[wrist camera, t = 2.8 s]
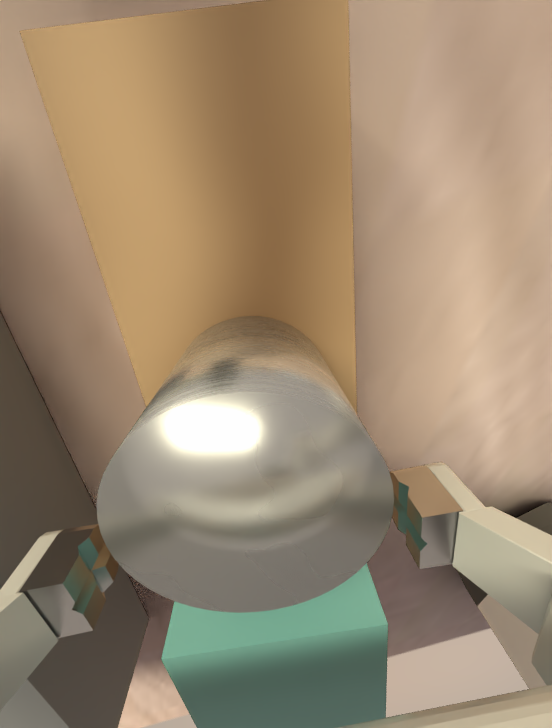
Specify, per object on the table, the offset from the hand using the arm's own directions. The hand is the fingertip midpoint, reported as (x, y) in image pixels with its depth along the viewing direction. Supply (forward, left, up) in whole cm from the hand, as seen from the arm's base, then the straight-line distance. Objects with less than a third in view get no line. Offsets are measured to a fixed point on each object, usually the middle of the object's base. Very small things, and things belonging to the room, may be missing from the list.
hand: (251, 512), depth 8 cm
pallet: (-1, -1, -4) cm, 5 cm away
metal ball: (-1, -4, -1) cm, 4 cm away
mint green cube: (-1, +1, -1) cm, 2 cm away
